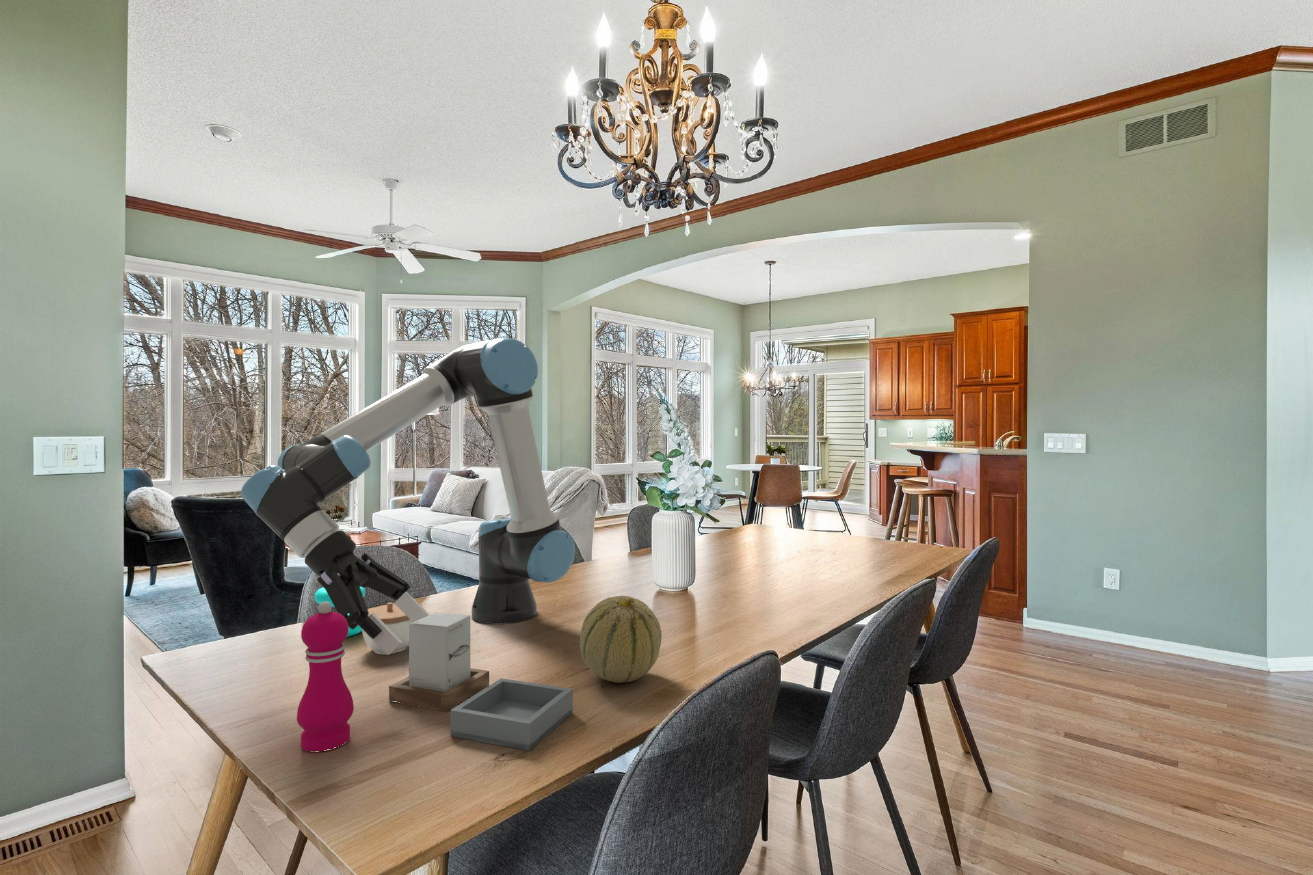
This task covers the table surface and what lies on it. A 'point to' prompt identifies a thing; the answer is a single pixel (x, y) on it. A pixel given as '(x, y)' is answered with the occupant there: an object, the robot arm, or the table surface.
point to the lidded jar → (390, 626)
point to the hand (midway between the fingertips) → (411, 635)
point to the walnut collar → (439, 692)
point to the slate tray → (512, 713)
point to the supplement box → (439, 651)
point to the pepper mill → (325, 683)
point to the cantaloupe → (620, 639)
